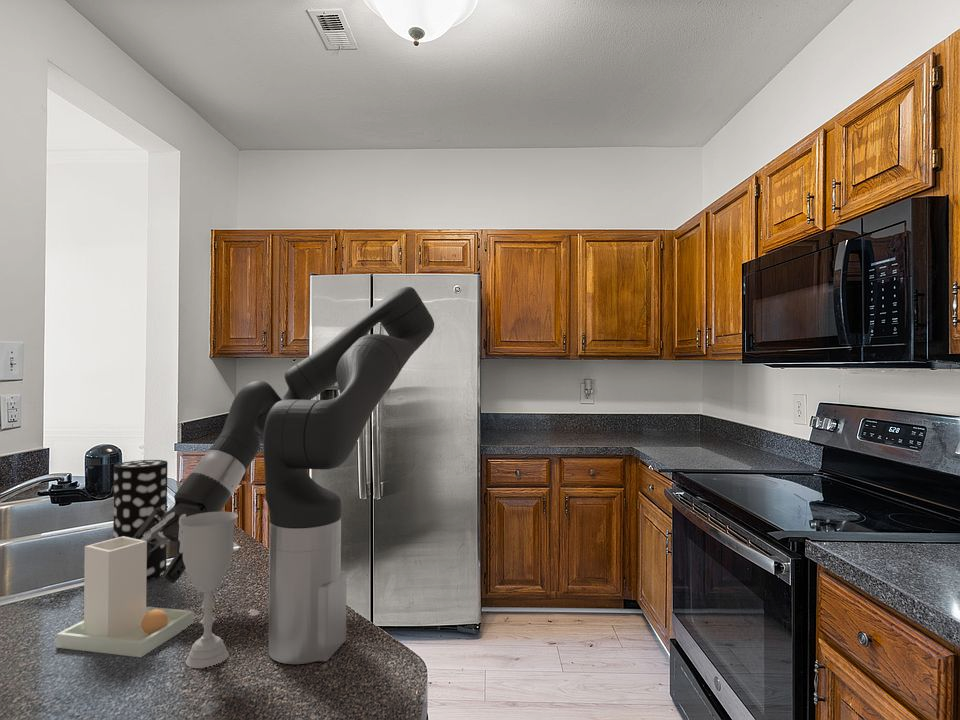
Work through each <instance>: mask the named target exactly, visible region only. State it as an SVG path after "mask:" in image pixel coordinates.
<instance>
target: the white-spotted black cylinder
mask: <svg viewBox="0 0 960 720" xmlns="http://www.w3.org/2000/svg"><path fill="white" fill-rule="evenodd" d="M168 463H169V462H168V460H162V459H143V460H141V459H139V460H132V461H129V460H128V461H123V462H118V463H116V464H114V466H113V521H112V522H113V524H112V525H113V529H112V530H113V531H112V532H113V533H112V534H113V535H112V537H113V538H112V539H114V538H118V537H122V536H125V537H129V538H133V536H134V535H135V534H136V532H137V531H138V530H139V529H140V527H141V526H142V525H143V523H144V522H145V521H146V520H147V518H148V517H149V516H150V515H151V513H152V512H153V511H154V509H155V508H157V507H160V508H161V509H163V510H164V511H168ZM149 532H150V531H149V530H148V529H147V531H146V532H145V533H144V535H143V536H145V535H147V534H148V533H149ZM159 532H161V533H162V534H163V529H162V530H161V531H159ZM155 540H157V539H155V538H154V539H153V540H152V541H151V543H152V542H154V541H155ZM167 544H168V543H167ZM167 544H165V545H160V546H159V547H157V548H156V549H155V550H153V551H152V552H150V553H151V555H150V556H149V558H148V559H147V576H146V582H148V581H147V580H150V581H152V580H151V579H153V580H155V579H154V578H156V579H158V578H157V577H159V578H161V577H162V576H161V575H163V573H164V572H165V570H166V569H167V558H168V557H167V552H168V551H167V547H168V545H167ZM160 576H161V577H160Z"/></svg>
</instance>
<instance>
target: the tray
mask: <svg viewBox="0 0 960 720" xmlns="http://www.w3.org/2000/svg"><path fill="white" fill-rule="evenodd" d="M155 609H159V610H162V611H164V612H165V613H166V614H167V617H168V622H167V625H166V626H164V627H163V628H161V629H159V630H158V631H156V632H154V633H153V634H151V635H150V634H147V633H145V632H144V631H143V629H142V627H141V628H139V629H136V630H134V631H131V632H129V633H127V634H124V635H122V636H119V637H117V638H110V637H101V636H92V635H88V634H85V633H84V619H83V620H82V621H79V622H77V623H76V624H73V625H72V626H70V627H68V628H65V629H64V630H62V631H60V632H58V633H56V636H55V637H56V638H55V641H56V642H55V648H57V649H66V650H75V651H84V652H91V653H99V654H107V655H108V654H109V655H117V656H126V657H134V658H142V657H144V656H145V655H147V654H148V653H150V652H152V651H153V650H155V649H156V648H158V647H159V646H161V645H163V644H164V643H167V641H168V640H170V639H172V638H174V637H175V636H177V635H178V634H180V633H181V632H183V631H185V630H186V629H187V628H189V627H190V625H191V624H192V625H194V624H193V623H195V610H187V609H179V608H177V609H176V608H168V607H167V608H166V607H157V606H156V607H155V606H147V605H146V614H147V613H148V612H150V611H152V610H155ZM192 625H191V626H192ZM188 626H189V627H188ZM182 630H183V631H182Z"/></svg>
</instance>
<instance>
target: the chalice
mask: <svg viewBox="0 0 960 720" xmlns="http://www.w3.org/2000/svg"><path fill="white" fill-rule="evenodd" d="M238 517H239V515H238V513H236V512H232V511H221V512H207V513H200V514H195V515H191V516H188V517H185V518H183V519H181V520H180V521H179V524H180V526H181V528H182V529H183V562H184V565H185V567H186V569H185V570H186V572H187V575H188V578H189V579H190V580H191V583H192V584H193V586H194V588H195V590H196V591H198V592H202V593H203V596H204V598H203V602H202V605H201V609H202V610H203V617H202V619H201V620H200V624H202V626H203V634H202V635H201V637H199V638H197V639H196V640H195V641H194V643H192V646H191V649H190V651H189V653H188V657H187V658H186V660H185V665H186V666H188V667H189V668H193V669H204V668H205V667H207V668H210V667H209V666H211V667H213V665H215V666H217V665H219V664H221V663H223V662H224V661H227V660H226V659H228V658H229V655H230V654H229V651H228V650H227V649H226V648H227V647H226V645H225V643H224V640H223V639H222V638H221V637H220V636H218V635H216V634H215V633H213V629H212V627H213V623H214V622H215V621H216V618H215V617H214V616H213V608H214V607H215V605H216V604H215V603H214V601H213V597H212V596H213V593H214V591H215V590H217V589H219V587H220V586H221V584H222V582H223V581H224V578H225V576H226V574H227V572H228V569H229V567H230V565H231V561H232V558H233V555H234V552H235V551H234V545H235V544H234V541H235V539H234V537H235V536H234V534H235V530H234V529H235V528H234V526H235V523H236V521H237V519H238ZM222 661H223V662H222ZM218 663H219V664H218ZM216 664H217V665H216ZM205 669H206V668H205Z"/></svg>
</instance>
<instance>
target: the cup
mask: <svg viewBox="0 0 960 720" xmlns="http://www.w3.org/2000/svg"><path fill="white" fill-rule="evenodd" d="M83 571H84V573H83V574H84V577H83V578H84V579H83V580H84V581H83V582H84V585H83V586H84V587H83V620H84V633H85V634H88V635H92V636H101V637H110V638H117V637H119V636H122V635H124V634H127V633H129V632H131V631H134V630H136V629H139V628H141V627H142V620H143V618H144V616H145V615H146V606H147V581H146V576H147V541H143V540H139V539H134V538H129V537H125V536H122V537H118V538H114V539H113V538H110V539H108V540H103V541H100V542H95V543H92V544H88V545H84V570H83Z"/></svg>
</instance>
